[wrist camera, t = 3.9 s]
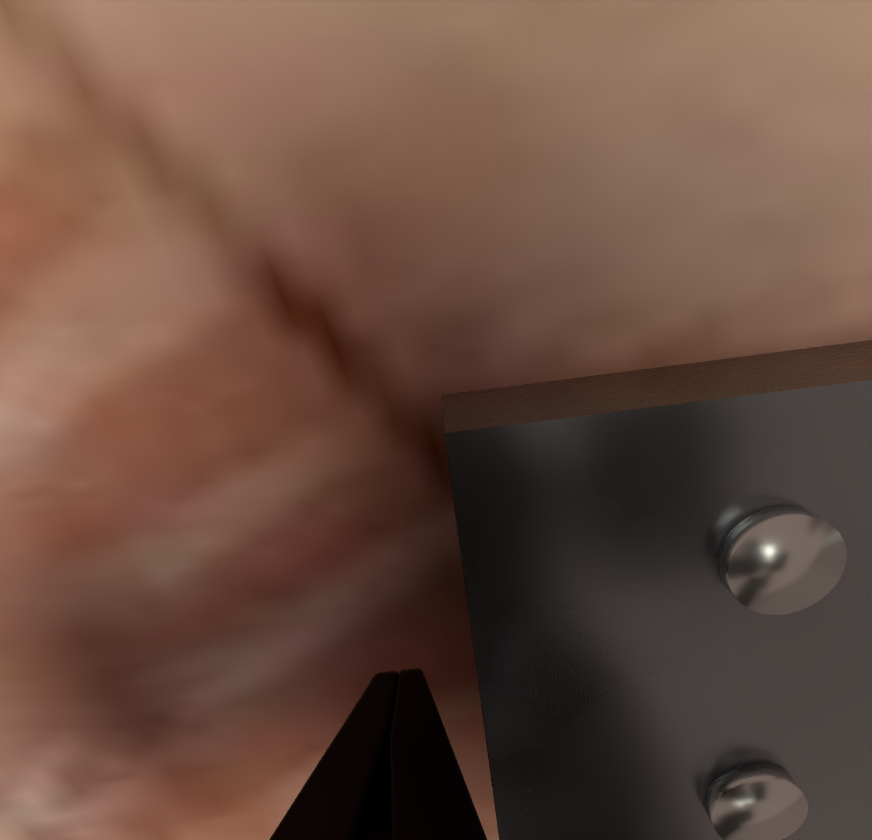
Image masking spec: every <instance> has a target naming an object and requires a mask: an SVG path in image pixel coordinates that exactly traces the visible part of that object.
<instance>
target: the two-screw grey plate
mask: <svg viewBox="0 0 872 840" xmlns="http://www.w3.org/2000/svg"><path fill="white" fill-rule="evenodd" d="M443 413H444V431H445V440H446V447H447V455H448V462H449V470H450V477H451V484H452V492H453V499H454V507H455V514H456V521H457V529H458V536H459V544H460V551H461V558H462V566H463V573H464V581H465V588H466V596H467V603H468V610H469V618H470V625H471V633H472V640H473V647H474V655H475V662H476V670H477V677H478V684H479V692H480V699H481V707H482V714H483V722H484V729H485V736H486V744H487V751H488V759H489V766H490V773H491V781H492V788H493V796H494V803H495V810H496V818H497V825H498V833H499V840H872V340H870V341H862V342H854V343H846V344H839V345H831V346H823V347H815V348H807V349H799V350H792V351H784V352H776V353H768V354H760V355H753V356H745V357H737V358H729V359H721V360H714V361H706V362H698V363H690V364H682V365H675V366H667V367H659V368H651V369H643V370H636V371H628V372H620V373H612V374H604V375H597V376H589V377H581V378H573V379H565V380H558V381H550V382H542V383H534V384H526V385H519V386H511V387H503V388H495V389H487V390H480V391H472V392H464V393H456V394H448V395H443Z"/></svg>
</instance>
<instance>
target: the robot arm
mask: <svg viewBox="0 0 872 840" xmlns="http://www.w3.org/2000/svg"><path fill="white" fill-rule="evenodd" d="M270 840H487V838H486V836H485V833H484V830H483V828H482V825H481V823H480V820H479V817H478V815H477V812H476V809H475V807H474V804H473V802H472V799H471V796H470V794H469V791H468V788H467V786H466V783H465V781H464V778H463V775H462V773H461V770H460V767H459V765H458V762H457V760H456V757H455V754H454V752H453V749H452V746H451V744H450V741H449V739H448V736H447V733H446V731H445V728H444V725H443V723H442V720H441V718H440V715H439V712H438V710H437V707H436V705H435V702H434V699H433V697H432V694H431V691H430V689H429V686H428V684H427V681H426V678H425V676H424V673H423V671H422V670H421V669H420V668H416V669H407V670H402V671H400V673H398V672H397V671H389V672H380V673H377V674H376V675H375V676H374V677H373V679H372V680H371V682H370V683H369V685H368V687H367V688H366V690H365V691H364V693H363V694H362V696H361V697H360V699H359V701H358V702H357V704H356V705H355V707H354V708H353V710H352V712H351V713H350V715H349V716H348V718H347V719H346V721H345V722H344V724H343V726H342V727H341V729H340V730H339V732H338V733H337V735H336V737H335V738H334V740H333V741H332V743H331V744H330V746H329V747H328V749H327V751H326V752H325V754H324V755H323V757H322V758H321V760H320V761H319V763H318V765H317V766H316V768H315V769H314V771H313V772H312V774H311V776H310V777H309V779H308V780H307V782H306V783H305V785H304V786H303V788H302V790H301V791H300V793H299V794H298V796H297V797H296V799H295V801H294V802H293V804H292V805H291V807H290V808H289V810H288V811H287V813H286V815H285V816H284V818H283V819H282V821H281V822H280V824H279V826H278V827H277V829H276V830H275V832H274V833H273V835H272V836H271V838H270Z"/></svg>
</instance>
